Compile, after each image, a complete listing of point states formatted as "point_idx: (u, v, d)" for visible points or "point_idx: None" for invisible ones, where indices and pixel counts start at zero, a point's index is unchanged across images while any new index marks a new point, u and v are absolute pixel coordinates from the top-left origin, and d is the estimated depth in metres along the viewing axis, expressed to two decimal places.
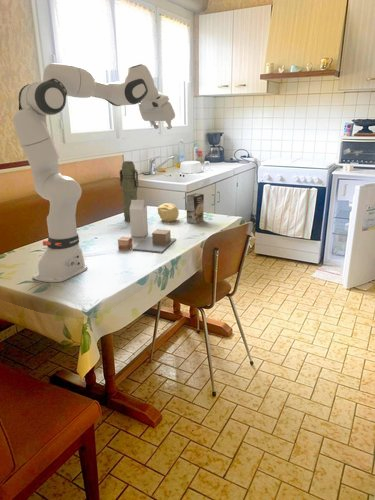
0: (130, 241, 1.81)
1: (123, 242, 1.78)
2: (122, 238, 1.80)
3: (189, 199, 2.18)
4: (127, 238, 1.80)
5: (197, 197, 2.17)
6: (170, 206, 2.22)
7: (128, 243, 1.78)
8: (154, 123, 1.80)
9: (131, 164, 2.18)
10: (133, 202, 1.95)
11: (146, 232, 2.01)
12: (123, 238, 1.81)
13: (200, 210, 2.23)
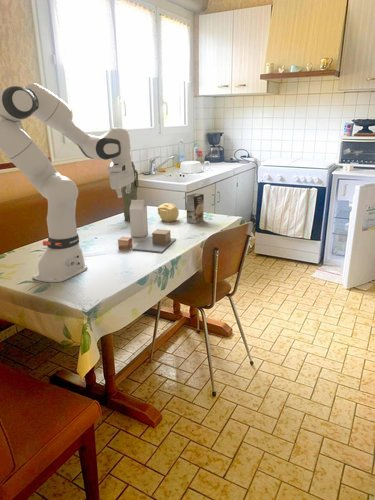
0: (130, 241, 1.81)
1: (123, 242, 1.78)
2: (122, 238, 1.80)
3: (189, 199, 2.18)
4: (127, 238, 1.80)
5: (197, 197, 2.17)
6: (170, 206, 2.22)
7: (128, 243, 1.78)
8: (128, 187, 1.78)
9: None
10: (133, 202, 1.95)
11: (146, 232, 2.01)
12: (123, 238, 1.81)
13: (200, 210, 2.23)
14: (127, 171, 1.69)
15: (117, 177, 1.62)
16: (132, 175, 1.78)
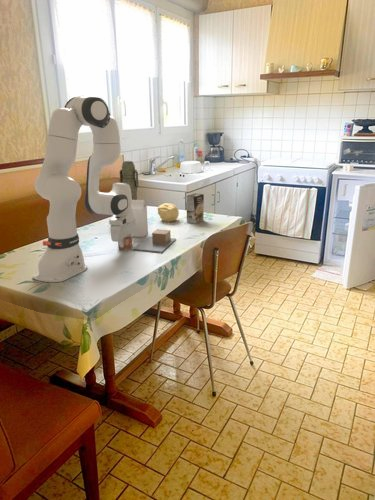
0: (130, 241, 1.81)
1: None
2: None
3: (189, 199, 2.18)
4: (127, 238, 1.80)
5: (197, 197, 2.17)
6: (170, 206, 2.22)
7: (128, 242, 1.78)
8: None
9: (131, 164, 2.18)
10: (133, 202, 1.95)
11: (146, 232, 2.01)
12: None
13: (200, 210, 2.23)
14: (128, 223, 1.76)
15: (117, 230, 1.69)
16: (134, 225, 1.85)
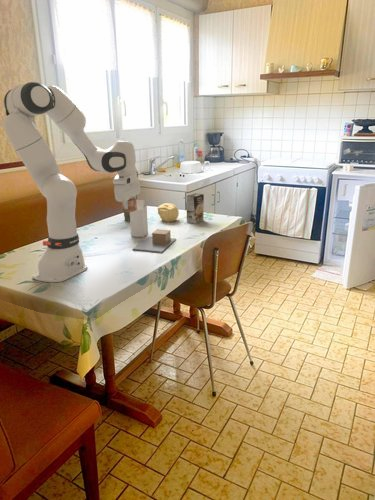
0: (134, 203, 1.76)
1: None
2: None
3: (189, 199, 2.18)
4: (131, 199, 1.76)
5: (197, 197, 2.17)
6: (170, 206, 2.22)
7: (132, 204, 1.74)
8: None
9: None
10: None
11: (146, 232, 2.01)
12: None
13: (200, 210, 2.23)
14: (132, 183, 1.71)
15: (122, 190, 1.64)
16: (138, 187, 1.80)
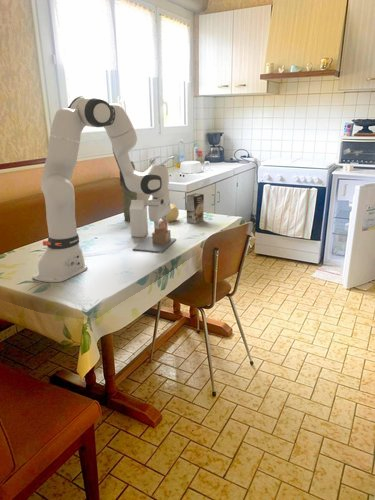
0: (166, 224, 1.85)
1: None
2: None
3: (189, 199, 2.18)
4: (163, 222, 1.85)
5: (197, 197, 2.17)
6: None
7: (164, 226, 1.83)
8: (164, 218, 1.89)
9: None
10: (133, 202, 1.95)
11: (146, 232, 2.01)
12: (159, 221, 1.86)
13: (200, 210, 2.23)
14: (165, 204, 1.80)
15: (156, 210, 1.73)
16: (169, 206, 1.89)
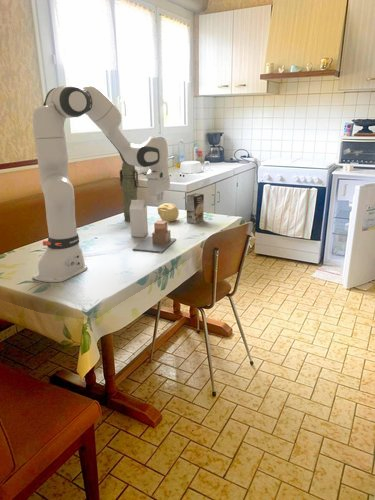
0: (166, 224, 1.85)
1: (159, 225, 1.83)
2: (158, 222, 1.85)
3: (189, 199, 2.18)
4: (163, 222, 1.85)
5: (197, 197, 2.17)
6: (170, 206, 2.22)
7: (164, 226, 1.83)
8: (161, 195, 1.82)
9: None
10: (133, 202, 1.95)
11: (146, 232, 2.01)
12: (159, 221, 1.86)
13: (200, 210, 2.23)
14: (164, 178, 1.76)
15: (155, 184, 1.69)
16: (168, 182, 1.85)
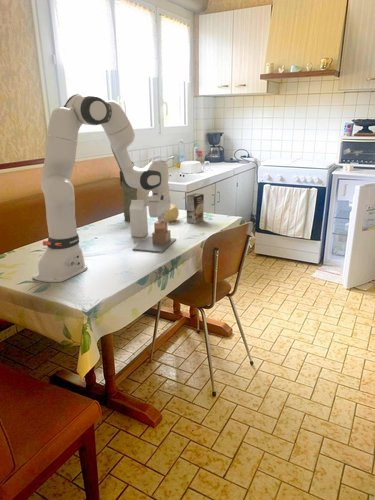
0: (166, 225, 1.85)
1: (159, 225, 1.83)
2: (158, 222, 1.85)
3: (189, 199, 2.18)
4: (163, 222, 1.85)
5: (197, 197, 2.17)
6: None
7: (164, 226, 1.83)
8: (161, 216, 1.85)
9: None
10: (133, 202, 1.95)
11: (146, 232, 2.01)
12: None
13: (200, 210, 2.23)
14: (165, 200, 1.80)
15: (156, 206, 1.73)
16: (169, 202, 1.89)
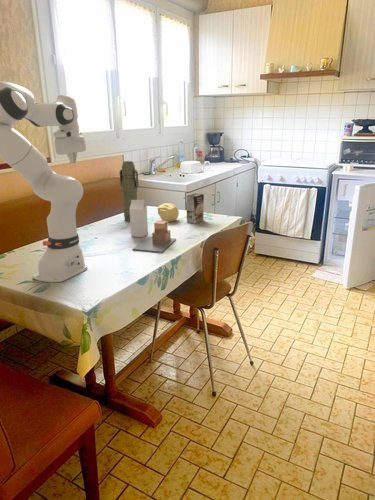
0: (166, 224, 1.85)
1: (159, 225, 1.83)
2: (158, 222, 1.85)
3: (189, 199, 2.18)
4: (163, 222, 1.85)
5: (197, 197, 2.17)
6: (170, 206, 2.22)
7: (164, 226, 1.83)
8: (74, 157, 1.82)
9: (131, 164, 2.18)
10: (133, 202, 1.95)
11: (146, 232, 2.01)
12: (159, 221, 1.86)
13: (200, 210, 2.23)
14: (74, 138, 1.77)
15: (61, 142, 1.70)
16: (83, 144, 1.86)
